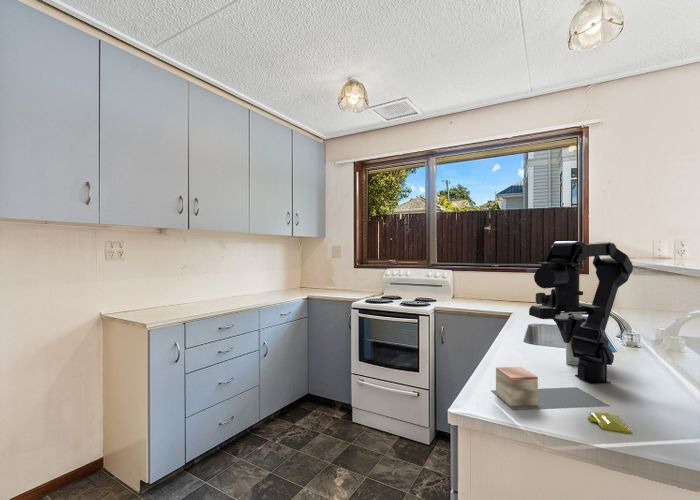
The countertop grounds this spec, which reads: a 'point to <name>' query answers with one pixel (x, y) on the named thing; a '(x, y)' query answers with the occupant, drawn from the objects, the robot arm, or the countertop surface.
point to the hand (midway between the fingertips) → (566, 342)
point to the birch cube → (516, 386)
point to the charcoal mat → (560, 399)
